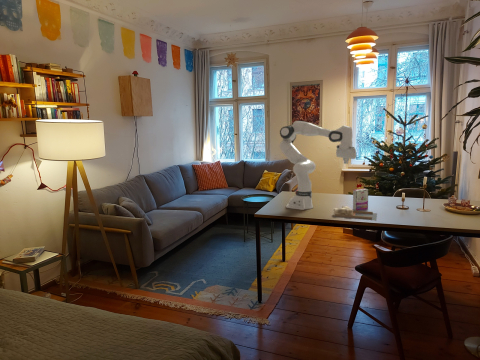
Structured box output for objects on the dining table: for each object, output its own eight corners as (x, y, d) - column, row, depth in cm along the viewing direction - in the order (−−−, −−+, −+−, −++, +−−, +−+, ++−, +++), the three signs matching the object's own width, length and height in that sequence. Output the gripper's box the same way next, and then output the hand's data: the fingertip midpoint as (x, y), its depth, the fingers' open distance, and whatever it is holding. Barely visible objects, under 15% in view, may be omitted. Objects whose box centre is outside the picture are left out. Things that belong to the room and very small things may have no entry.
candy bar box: (364, 208, 274) (364, 188, 272) (368, 209, 270) (368, 189, 267) (352, 209, 271) (352, 189, 269) (355, 210, 267) (356, 190, 264)
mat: (333, 217, 250) (333, 214, 250) (336, 210, 268) (336, 208, 268) (376, 221, 238) (376, 218, 238) (377, 213, 256) (377, 211, 256)
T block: (347, 212, 261) (347, 206, 260) (353, 216, 249) (353, 210, 249) (331, 213, 261) (332, 206, 260) (337, 217, 249) (337, 210, 248)
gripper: (358, 146, 258) (358, 164, 261) (341, 145, 277) (340, 162, 279) (351, 147, 256) (351, 165, 258) (335, 145, 275) (334, 162, 277)
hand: (345, 163), depth 269 cm, fingers closed
